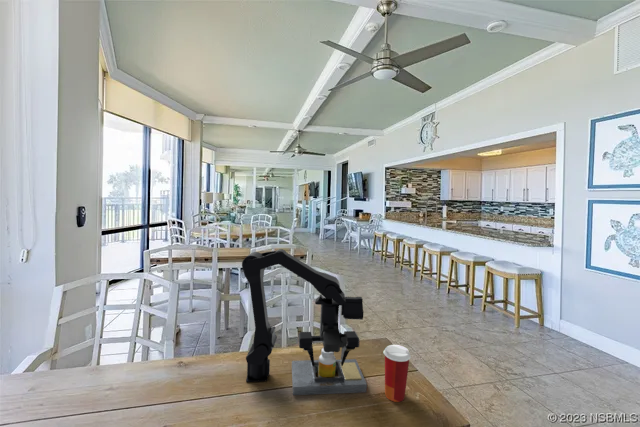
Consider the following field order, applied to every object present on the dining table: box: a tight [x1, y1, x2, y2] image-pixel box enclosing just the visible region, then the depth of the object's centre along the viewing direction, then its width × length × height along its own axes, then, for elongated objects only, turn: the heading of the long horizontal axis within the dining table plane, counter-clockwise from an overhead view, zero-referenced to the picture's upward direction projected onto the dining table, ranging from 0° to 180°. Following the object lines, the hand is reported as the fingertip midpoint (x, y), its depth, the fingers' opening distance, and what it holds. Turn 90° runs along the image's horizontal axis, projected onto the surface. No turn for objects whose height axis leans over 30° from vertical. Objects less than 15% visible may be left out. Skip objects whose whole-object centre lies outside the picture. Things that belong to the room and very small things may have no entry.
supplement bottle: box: [317, 347, 337, 377], centre depth 98 cm, size 5×5×10 cm
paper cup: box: [383, 344, 412, 403], centre depth 91 cm, size 8×8×14 cm
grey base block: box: [291, 358, 368, 396], centre depth 98 cm, size 22×14×3 cm, turn 97°
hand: (327, 365), depth 98 cm, fingers open, 9 cm apart
